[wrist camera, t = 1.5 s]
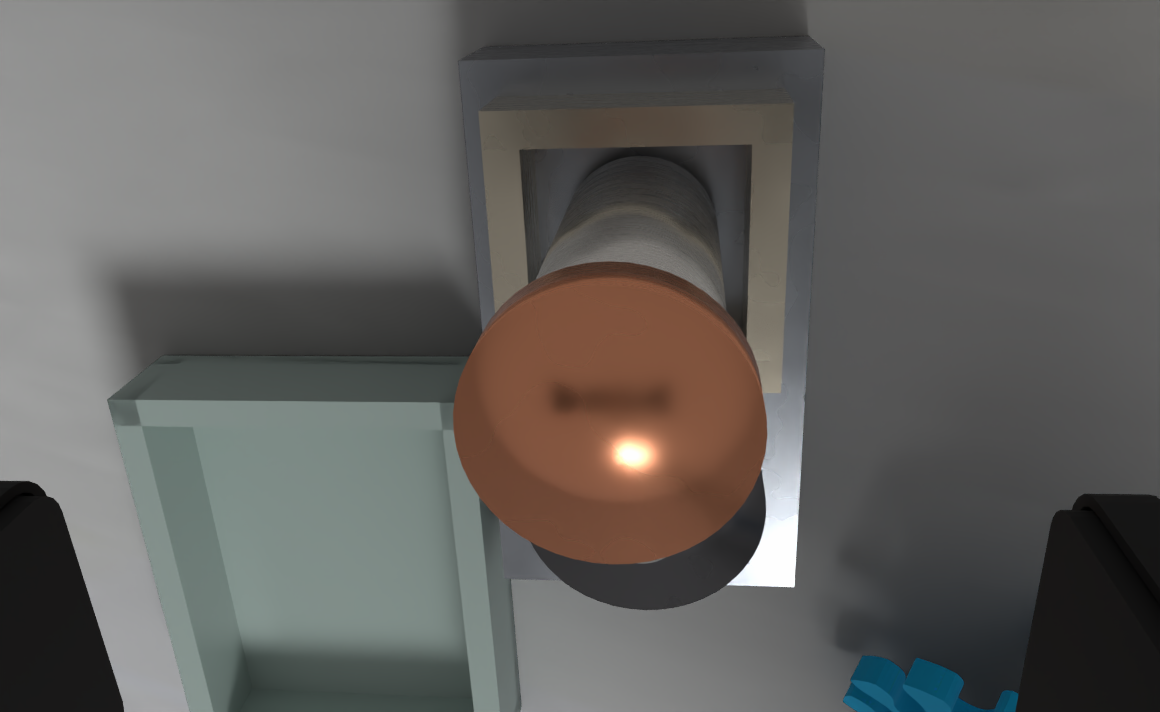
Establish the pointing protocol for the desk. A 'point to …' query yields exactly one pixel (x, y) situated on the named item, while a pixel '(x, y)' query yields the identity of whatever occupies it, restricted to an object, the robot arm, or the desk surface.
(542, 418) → the pin
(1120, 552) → the robot arm
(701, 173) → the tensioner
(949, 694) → the gear
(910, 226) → the desk surface
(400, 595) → the tray
